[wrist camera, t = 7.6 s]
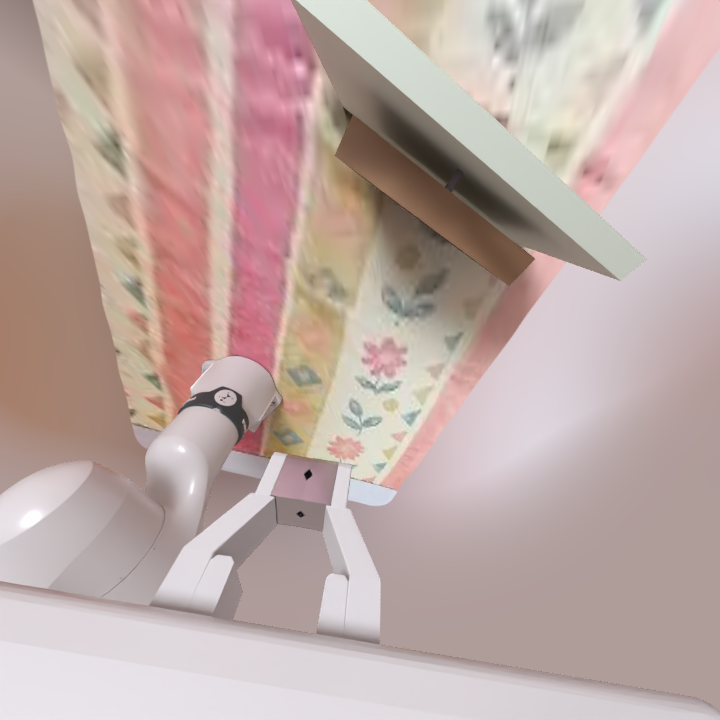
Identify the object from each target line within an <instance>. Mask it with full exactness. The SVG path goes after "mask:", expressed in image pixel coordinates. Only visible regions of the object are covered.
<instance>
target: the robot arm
mask: <svg viewBox="0 0 720 720" xmlns="http://www.w3.org/2000/svg"><path fill="white" fill-rule="evenodd" d="M281 401H282V397H281V395H280V394H279V393H278V392H277V390H276V388H275V384H274V381H273V379H272V377H271V376H270V374H269V373H268V372H267V371H266V370H265V369H264V368H263V367H262V366H261V365H259V364H258V363H256V362H254V361H252V360H250V359H247V358H244V357H239V356H230V357H225V358H223V359H220V360H217V361H212V360H210V361H205V362H204V363H203V365H202V375H201V376H200V378H199V379H198V380H197V381H196V382H195V383H194V384H193V385H192V387H191V398H190V399H189V400H187V401H186V402H185V404H184V405H183V406H182V408H181V409H180V410H179V412H178V415H177V417H176V418H175V419H174V420H173V421H172V422H171V423H170V424H169V425H168V426H167V427H166V428H165V429H164V430H163V431H162V432H161V433H160V434H159V435H158V436H157V437H156V438H155V439H154V440H153V442H152V443H151V444H150V446H149V448H148V450H147V453H146V457H145V466H146V472H147V486H146V490H145V492H143V491H142V490H141V489H140V488H139V487H138V486H136V485H135V484H134V483H133V482H132V481H130V480H129V479H128V478H127V477H125V476H123V475H121V474H119V473H117V472H115V471H113V470H111V469H109V468H107V467H104V466H102V465H100V464H97V463H95V462H93V461H91V460H76V461H70V462H65V463H61V464H58V465H54V466H51V467H48V468H45V469H42V470H40V471H38V472H36V473H34V474H32V475H30V476H28V477H26V478H24V479H22V480H21V481H19V482H18V483H16V484H14V485H13V486H12V487H10V488H9V489H7V490H6V491H5V492H4V493H3V494H1V495H0V720H720V710H718V709H717V708H716V707H714V706H713V705H711V704H710V703H708V702H706V701H704V700H701V699H698V698H695V697H690V696H685V695H680V694H674V693H668V692H662V691H656V690H650V689H644V688H637V687H632V686H626V685H620V684H614V683H608V682H602V681H596V680H590V679H584V678H578V677H572V676H566V675H560V674H554V673H548V672H542V671H535V670H530V669H524V668H518V667H512V666H505V665H499V664H493V663H488V662H482V661H476V660H470V659H464V658H458V657H452V656H446V655H440V654H434V653H428V652H422V651H416V650H410V649H404V648H398V647H392V646H386V645H380V586H381V585H380V584H381V580H380V578H379V576H378V573H377V571H376V569H375V566H374V564H373V562H372V559H371V557H370V554H369V552H368V550H367V547H366V545H365V543H364V540H363V538H362V535H361V533H360V531H359V528H358V526H357V524H356V522H355V519H354V517H353V514H352V512H351V510H350V509H347V508H346V507H347V500H348V493H349V485H350V477H351V470H352V464H346V463H339V462H335V461H328V460H322V459H315V458H307V457H301V456H296V455H290V454H285V453H279V452H274V454H273V455H272V457H271V459H270V461H269V463H268V466H267V468H266V470H265V472H264V474H263V477H262V479H261V481H260V483H259V486H258V488H257V490H256V492H255V493H250V494H249V495H248V496H246V497H245V498H244V499H243V500H241V501H240V502H239V503H238V504H236V505H235V506H234V507H233V508H231V509H230V510H229V511H228V512H226V513H225V514H224V515H223V516H221V517H220V518H219V519H218V520H217V521H215V522H214V523H213V524H212V525H210V526H209V527H208V528H207V529H205V530H204V531H203V529H204V522H205V515H206V511H207V506H208V502H209V498H210V494H211V491H212V487H213V485H214V482H215V479H216V477H217V475H218V473H219V471H220V470H221V468H222V466H223V464H224V462H225V461H226V459H227V457H228V455H229V454H230V452H231V450H232V449H233V447H234V446H235V445H236V444H238V443H239V441H240V440H241V439H242V438H243V436H244V435H245V433H246V431H248V430H250V431H251V432H255V431H256V430H257V429H258V427H259V425H260V423H261V421H262V420H263V419H265V418H266V417H267V416H268V415H269V414H270V413H271V412H272V411H273V410H274V409H275V408H276V407H277V406H278V405H279V404H280V403H281ZM338 463H339V464H338ZM277 524H281V525H288V526H296V527H302V528H308V529H313V530H318V531H322V532H323V536H324V539H325V543H326V546H327V550H328V553H329V557H330V561H331V564H332V568H333V571H334V574H330V575H329V576H328V577H327V578H326V582H325V587H324V593H323V598H322V604H321V610H320V616H319V622H318V627H317V633H316V634H314V633H308V632H302V631H296V630H290V629H284V628H278V627H272V626H266V625H260V624H254V623H248V622H242V621H236V620H233V618H234V615H235V612H236V609H237V607H238V604H239V601H240V598H241V596H242V593H243V591H242V588H241V584H240V581H239V578H238V574H237V571H236V570H237V569H238V568H239V567H240V566H241V565H242V564H243V562H244V561H245V560H246V559H247V558H248V557H249V556H250V555H251V554H252V552H253V551H254V550H255V549H256V548H257V547H258V546H259V545H260V544H261V543H262V542H263V540H264V539H265V538H266V537H267V536H268V535H269V534H270V533H271V532H272V530H273V529H274V528H275V527H276V526H277Z"/></svg>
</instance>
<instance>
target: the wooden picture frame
mask: <svg viewBox="0 0 720 720" xmlns="http://www.w3.org/2000/svg"><path fill="white" fill-rule="evenodd" d="M335 156H336V157H337V158H339V159H340V160H341V161H342V162H344V163H345V164H346V165H347V166H349V167H350V168H351V169H352V170H354V171H355V172H356V173H357V174H359V175H360V176H361V177H363V178H364V179H365V180H367V181H368V182H370V183H371V184H372V185H374V186H375V187H376V188H378V189H379V190H380V191H382V192H383V193H384V194H386V195H387V196H388V197H390V198H391V199H392V200H394V201H395V202H396V203H398V204H399V205H400V206H402V207H403V208H404V209H406V210H407V211H408V212H410V213H411V214H412V215H414V216H415V217H416V218H418V219H419V220H420V221H422V222H423V223H424V224H426V225H427V226H428V227H430V228H431V229H432V230H434V231H435V232H436V233H438V234H439V235H440V236H442V237H443V238H444V239H446V240H447V241H448V242H450V243H451V244H453V245H454V246H455V247H457V248H458V249H459V250H461V251H462V252H463V253H465V254H466V255H467V256H469V257H470V258H471V259H473V260H474V261H475V262H477V263H478V264H480V265H481V266H482V267H484V268H485V269H486V270H488V271H489V272H491V273H492V274H493V275H495V276H496V277H498V278H499V279H500V280H502V281H503V282H505V283H506V284H507V285H510V284H511V283H512V282H513V281H514V280H515V279H516V278H517V277H518V276H519V275H520V274H521V273H522V272H523V271H524V270H525V269H526V268H527V267H528V266H529V265H530V263H531V262H532V261H533V260H534V259H535V258H533V257H532V256H531V255H530V254H528V253H527V252H526V251H525V250H523V249H522V248H521V247H519V246H518V245H517V244H516V243H514V242H513V241H512V240H511V239H509V238H508V237H507V236H506V235H504V234H503V233H502V232H501V231H499V230H498V229H497V228H495V227H494V226H493V225H492V224H490V223H489V222H488V221H487V220H485V219H484V218H483V217H482V216H480V215H479V214H478V213H477V212H475V211H474V210H473V209H472V208H470V207H469V206H468V205H466V204H465V203H464V202H463V201H461V200H460V199H459V198H458V197H456V196H455V195H454V194H453V193H451V192H450V191H449V190H448V189H446V188H445V187H444V186H442V185H441V184H440V183H439V182H437V181H436V180H435V179H434V178H432V177H431V176H430V175H429V174H427V173H426V172H425V171H424V170H422V169H421V168H420V167H418V166H417V165H416V164H415V163H413V162H412V161H411V160H410V159H408V158H407V157H406V156H405V155H403V154H402V153H401V152H400V151H398V150H397V149H396V148H395V147H393V146H392V145H391V144H389V143H388V142H387V141H386V140H384V139H383V138H382V137H381V136H379V135H378V134H377V133H376V132H374V131H373V130H372V129H371V128H369V127H368V126H367V125H365V124H364V123H363V122H362V121H360V120H359V119H358V118H357V117H355V116H354V115H352V117H351V119H350V122H349V124H348V126H347V129H346V131H345V133H344V136H343V138H342V140H341V143H340V145H339V147H338V149H337V152H336V154H335Z"/></svg>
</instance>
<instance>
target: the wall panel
mask: <svg viewBox="0 0 720 720" xmlns="http://www.w3.org/2000/svg"><path fill="white" fill-rule="evenodd" d="M291 1H292V3H293V5H294V7H295V9H296V11H297V13H298V15H299V17H300V19H301V21H302V23H303V25H304V28H305V30H306V32H307V34H308V36H309V38H310V40H311V42H312V44H313V46H314V48H315V50H316V52H317V54H318V56H319V58H320V60H321V63H322V65H323V67H324V69H325V71H326V73H327V75H328V77H329V79H330V81H331V83H332V85H333V87H334V89H335V91H336V93H337V96H338V98H339V100H340V102H341V104H342V106H343V108H345V109H346V110H347V111H348V112H350V113H351V114H352V115H354V116H355V117H357V118H358V119H359V120H360V121H362V122H363V123H364V124H365V125H367V126H368V127H369V128H371V129H372V130H373V131H374V132H376V133H377V134H378V135H379V136H381V137H382V138H383V139H384V140H386V141H387V142H388V143H389V144H391V145H392V146H393V147H395V148H396V149H397V150H398V151H400V152H401V153H402V154H403V155H405V156H406V157H407V158H408V159H410V160H411V161H412V162H413V163H415V164H416V165H417V166H418V167H420V168H421V169H422V170H424V171H425V172H426V173H427V174H429V175H430V176H431V177H432V178H434V179H435V180H436V181H437V182H439V183H440V184H441V185H442V186H444V187H445V188H446V189H448V190H449V191H450V192H451V193H453V194H454V195H455V196H456V197H458V198H459V199H460V200H461V201H463V202H464V203H465V204H466V205H468V206H469V207H470V208H472V209H473V210H474V211H475V212H477V213H478V214H479V215H480V216H482V217H483V218H484V219H485V220H487V221H488V222H489V223H490V224H492V225H493V226H494V227H495V228H497V229H498V230H499V231H501V232H502V233H503V234H504V235H506V236H507V237H508V238H509V239H511V240H512V241H513V242H514V243H516V244H518V245H521V246H524V247H527V248H530V249H532V250H535V251H538V252H541V253H544V254H547V255H549V256H552V257H555V258H558V259H561V260H563V261H566V262H569V263H572V264H575V265H577V266H580V267H583V268H586V269H589V270H591V271H594V272H597V273H600V274H603V275H606V276H609V277H611V278H614V279H617V280H620V281H621V280H622V279H624V278H625V277H626V276H627V275H628V274H630V273H631V272H632V271H633V270H635V268H637V267H638V266H639V265H641V264H642V263H643V262H644V261H645V260H646V258H645V257H644V256H643V255H642V254H640V252H638V251H637V250H636V249H635V248H634V247H633V246H632V245H631V244H630V243H629V242H628V241H627V240H626V239H624V238H623V237H622V236H621V235H620V234H619V233H618V232H617V231H616V230H615V229H614V228H612V226H610V225H609V224H608V223H607V222H606V221H605V220H604V219H603V218H602V217H601V216H600V215H599V214H597V213H596V212H595V211H594V210H593V209H592V208H591V207H590V206H589V205H588V204H587V203H586V202H584V201H583V200H582V199H581V198H580V197H579V196H578V195H577V194H576V193H575V192H574V191H573V190H571V189H570V188H569V187H568V186H567V185H566V184H565V183H564V182H563V181H562V180H561V179H560V178H559V177H557V176H556V175H555V174H554V173H553V172H552V171H551V170H550V169H549V168H548V167H547V166H546V165H544V164H543V163H542V162H541V161H540V160H539V159H538V158H537V157H536V156H535V155H534V154H533V153H531V152H530V151H529V150H528V149H527V148H526V147H525V146H524V145H523V144H522V143H521V142H520V141H518V140H517V139H516V138H515V137H514V136H513V135H512V134H511V133H510V132H509V131H508V130H507V129H506V128H504V127H503V126H502V125H501V124H500V123H499V122H498V121H497V120H496V119H495V118H494V117H493V116H491V115H490V114H489V113H488V112H487V111H486V110H485V109H484V108H483V107H482V106H481V105H480V104H478V103H477V102H476V101H475V100H474V99H473V98H472V97H471V96H470V95H469V94H468V93H467V92H465V91H464V90H463V89H462V88H461V87H460V86H459V85H458V84H457V83H456V82H455V81H454V80H453V79H451V78H450V77H449V76H448V75H447V74H446V73H445V72H444V71H443V70H442V69H441V68H440V67H438V66H437V65H436V64H435V63H434V62H433V61H432V60H431V59H430V58H429V57H428V56H427V55H425V54H424V53H423V52H422V51H421V50H420V49H419V48H418V47H417V46H416V45H415V44H414V43H413V42H411V41H410V40H409V39H408V38H407V37H406V36H405V35H404V34H403V33H402V32H401V31H400V30H398V29H397V28H396V27H395V26H394V25H393V24H392V23H391V22H390V21H389V20H388V19H387V18H385V17H384V16H383V15H382V14H381V13H380V12H379V11H378V10H377V9H376V8H375V7H374V6H372V5H371V4H370V3H369V2H368V1H367V0H291Z"/></svg>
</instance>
